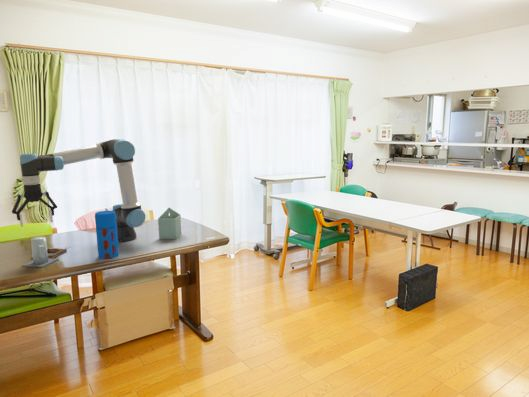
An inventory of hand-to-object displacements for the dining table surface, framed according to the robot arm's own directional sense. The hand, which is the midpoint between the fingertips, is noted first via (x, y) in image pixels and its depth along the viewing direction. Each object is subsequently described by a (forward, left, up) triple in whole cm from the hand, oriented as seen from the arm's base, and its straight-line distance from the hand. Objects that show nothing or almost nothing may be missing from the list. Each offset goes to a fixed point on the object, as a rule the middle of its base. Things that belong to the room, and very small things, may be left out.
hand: (37, 224), depth 197 cm
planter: (-50, -58, -22) cm, 79 cm away
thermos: (-29, -17, -22) cm, 40 cm away
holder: (+5, -13, -22) cm, 25 cm away
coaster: (0, 0, -22) cm, 21 cm away
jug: (-1, +1, -21) cm, 21 cm away
